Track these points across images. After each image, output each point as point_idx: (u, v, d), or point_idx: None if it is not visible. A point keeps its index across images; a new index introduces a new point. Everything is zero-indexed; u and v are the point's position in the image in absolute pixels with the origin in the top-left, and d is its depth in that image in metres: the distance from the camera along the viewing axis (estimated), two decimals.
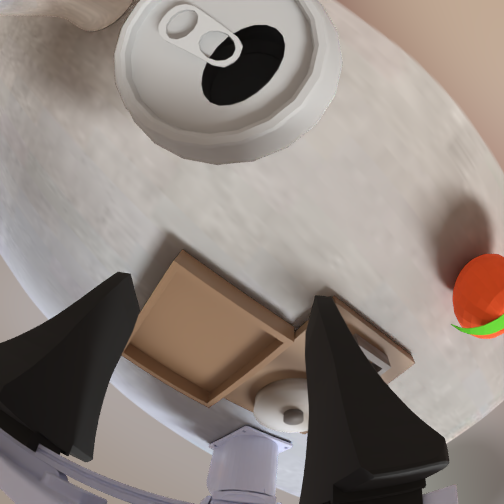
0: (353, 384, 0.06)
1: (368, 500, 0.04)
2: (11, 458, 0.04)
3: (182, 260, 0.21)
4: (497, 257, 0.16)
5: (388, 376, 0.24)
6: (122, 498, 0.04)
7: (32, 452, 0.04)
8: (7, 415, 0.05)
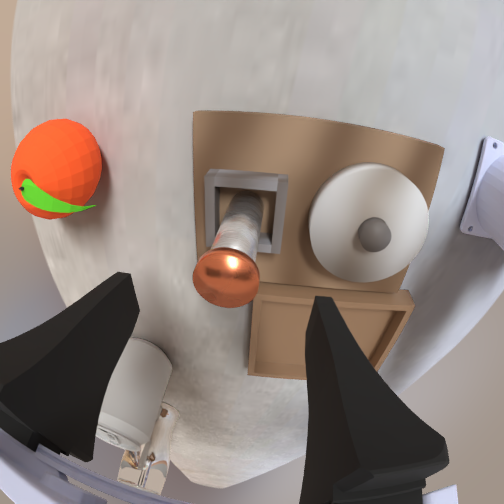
0: (353, 384, 0.06)
1: (368, 500, 0.04)
2: (11, 458, 0.04)
3: None
4: None
5: (239, 129, 0.16)
6: (122, 498, 0.04)
7: (32, 452, 0.04)
8: (7, 415, 0.05)
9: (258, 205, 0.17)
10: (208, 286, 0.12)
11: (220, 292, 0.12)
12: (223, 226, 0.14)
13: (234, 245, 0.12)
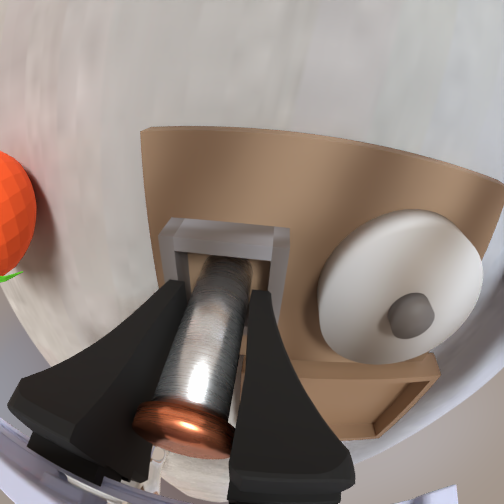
0: (260, 379, 0.06)
1: None
2: (11, 458, 0.04)
3: None
4: None
5: (211, 156, 0.10)
6: (122, 498, 0.04)
7: (32, 452, 0.04)
8: (61, 448, 0.05)
9: (243, 278, 0.11)
10: (158, 440, 0.06)
11: (177, 447, 0.06)
12: (182, 332, 0.08)
13: (193, 389, 0.07)
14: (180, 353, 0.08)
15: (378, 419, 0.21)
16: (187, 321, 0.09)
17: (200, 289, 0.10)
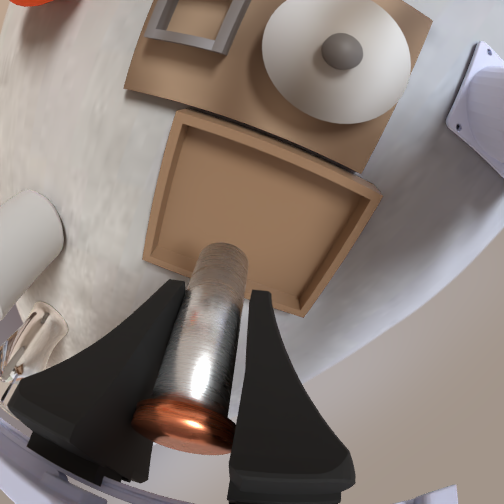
0: (260, 379, 0.06)
1: None
2: (11, 458, 0.04)
3: None
4: None
5: None
6: (122, 498, 0.04)
7: (32, 452, 0.04)
8: (61, 448, 0.05)
9: (237, 269, 0.11)
10: (159, 438, 0.06)
11: (179, 444, 0.06)
12: (177, 328, 0.08)
13: (190, 384, 0.07)
14: (176, 349, 0.08)
15: (305, 289, 0.22)
16: (182, 316, 0.09)
17: (194, 283, 0.10)
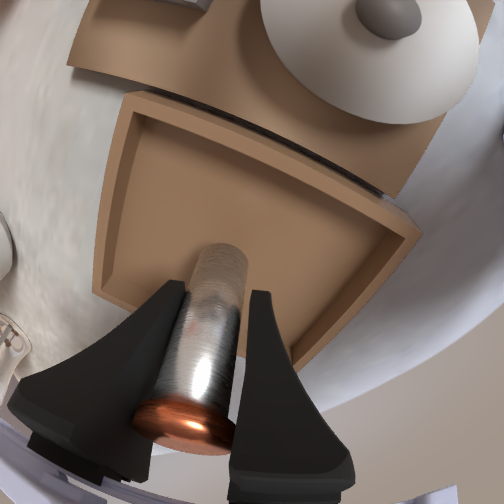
0: (260, 380, 0.06)
1: None
2: (11, 458, 0.04)
3: None
4: None
5: None
6: (122, 498, 0.04)
7: (32, 452, 0.04)
8: (61, 448, 0.05)
9: (237, 270, 0.11)
10: (159, 439, 0.06)
11: (179, 445, 0.06)
12: (177, 328, 0.08)
13: (190, 385, 0.07)
14: (176, 350, 0.08)
15: (301, 339, 0.17)
16: (182, 317, 0.09)
17: (194, 284, 0.10)
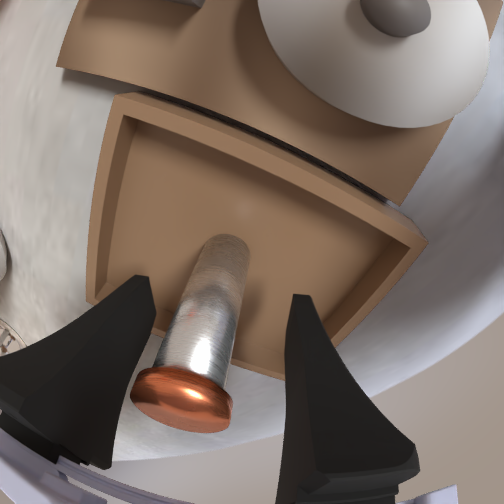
0: (321, 384, 0.06)
1: None
2: (11, 458, 0.04)
3: None
4: None
5: None
6: (122, 498, 0.04)
7: (32, 452, 0.04)
8: (24, 426, 0.05)
9: (239, 258, 0.12)
10: (156, 411, 0.07)
11: (175, 419, 0.07)
12: (180, 307, 0.09)
13: (189, 356, 0.07)
14: (177, 325, 0.08)
15: None
16: (185, 297, 0.09)
17: (198, 269, 0.11)
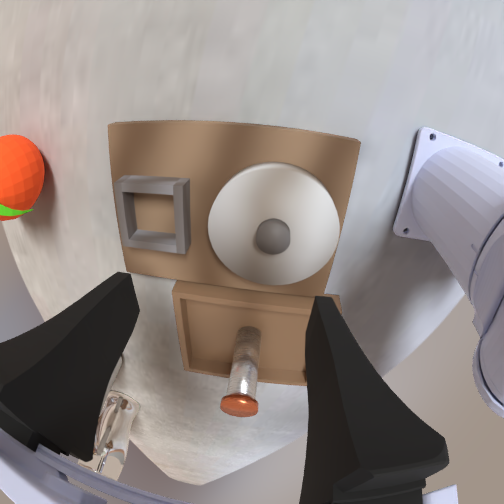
0: (353, 384, 0.06)
1: (368, 500, 0.04)
2: (11, 458, 0.04)
3: None
4: None
5: (144, 137, 0.16)
6: (122, 498, 0.04)
7: (32, 452, 0.04)
8: (7, 415, 0.05)
9: (254, 338, 0.24)
10: (231, 411, 0.19)
11: (239, 412, 0.19)
12: (232, 370, 0.22)
13: (238, 389, 0.20)
14: (232, 378, 0.21)
15: None
16: (233, 365, 0.22)
17: (236, 350, 0.23)
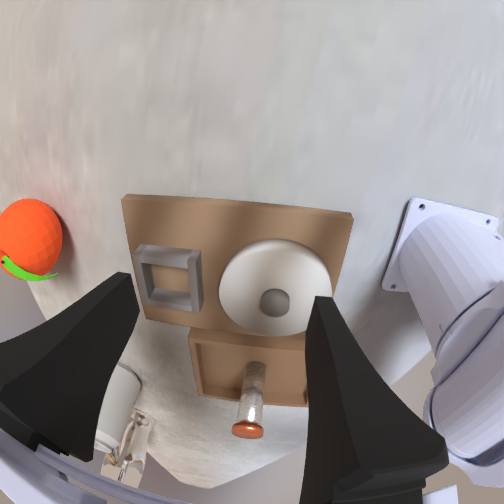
0: (353, 384, 0.06)
1: (368, 500, 0.04)
2: (11, 458, 0.04)
3: None
4: None
5: (157, 214, 0.19)
6: (122, 498, 0.04)
7: (32, 452, 0.04)
8: (7, 415, 0.05)
9: (259, 372, 0.27)
10: (241, 435, 0.22)
11: (247, 435, 0.22)
12: (241, 400, 0.24)
13: (246, 417, 0.22)
14: (241, 407, 0.24)
15: (307, 390, 0.30)
16: (242, 396, 0.25)
17: (244, 382, 0.26)
